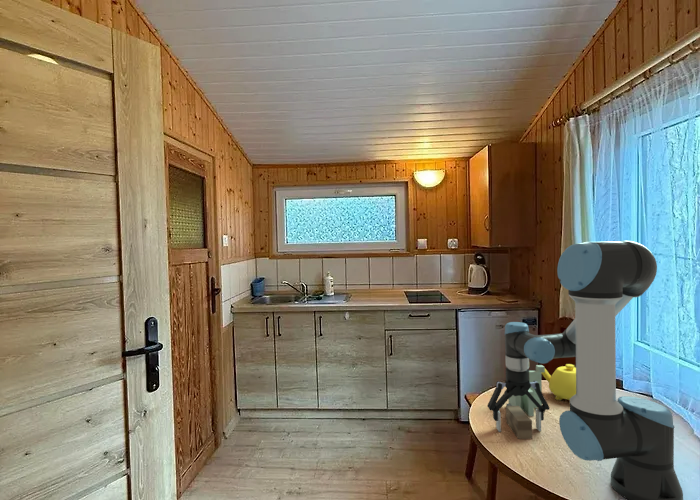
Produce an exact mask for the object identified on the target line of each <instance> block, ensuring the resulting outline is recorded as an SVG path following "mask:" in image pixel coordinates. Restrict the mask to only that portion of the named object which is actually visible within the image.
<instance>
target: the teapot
mask: <svg viewBox="0 0 700 500" xmlns="http://www.w3.org/2000/svg"><path fill="white" fill-rule="evenodd" d="M541 376H542V377H544V379H545V380H546V381H547V382H548V388H549V390H550V391H551V394H553V395H554V396H555V397H554V399H555V400H556V401H563V400H567V401H570V398H571V397H572V396H574V395H575V394H576V366H575V364H572V363H566V364H565V366H563V365H562V366H559V367H557V368H556V369H555V370H554V372H553V373H551V374H550V373H549V371H548V370H547V369H546V368H545V372H541Z"/></svg>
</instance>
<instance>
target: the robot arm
mask: <svg viewBox="0 0 700 500" xmlns="http://www.w3.org/2000/svg"><path fill="white" fill-rule="evenodd" d="M657 270H658V264H657V260H656V258H655V255H654V254H653V253H652V251H651V250H650V249H649V248H647V247H646V246H645V245H643V244H641V243H639V242H636V241H632V240H619V241H618V240H617V241H616V240H615V241H585V242H579V243H574V244H571V245H569V246H568V247H566V248H565V250H563V252H562V253H561V255H560V257H559V260H558V263H557V278H558V279H559V283H560V284H561V286H562V288H564V289H566V290H568V296H569V298H571V299H572V300H573V301H574V305H575V306H574V307H575V311H574V312H575V316H574V317H575V318H574V319H573V320H572V321H571V323H570V324H569V325H568V326H567V327H566V329H565V330H564V331H563V332H562V333H552V334H551V333H550V334H532V333H530V330H529V329H530V328H529V325H528V324H527V323H525V322H521V321H520V322H519V321H510V322H507V323H505V326H504V350H505V355H504V356H505V367H506V368H505V382H501V381H499V380H497V381H496V383H495V388H494V391H493V393H492V395H491V397H490V399H489V402H488V403H487V408H488V409H489V411H492V412H493V413H492V415H493V416H492V417H493V420H494V421H495V425H496V427H495V428H496V430H497V431H498V432H502V425H501V424H502V421H501V420H502V419H501V418H502V417H501V415H502V414H501V411H500V410H501V408H503V406H504V405H506V403H507V401H509V398H510V397H511V396H512V395H514V396H524V395H525V394H526V395H527V396H528V397H529V398H530V400H531V401H532V402H533V403H534V404H535V405H536V406H537V407H538V408H535V428H536V430H537V431H538V432H542V421H544V419H545V415H544V414H545V413H546V411H549V410H550V405H549V404H548V401H547V400H546V398H545V396H544V394H543V392H541V390H540V385H539V383H538V382H537V381H533V382H529V371H530V369H529V368H530V361H532V362H534V363H538V364H548V363H549V362H551V361H552V360H553V359H560V358H561V359H563V358H575V367H576V394H575V395H574V396H572V397H571V398H570V400H569V410H565V411H563V412H562V413H561V414H560V415H559V421H558V422H559V423H558V424H559V431H560V432H561V436H562V438H563V440H564V442H565V443H566V445H567V446H568V448H569V449H570V451H571V452H572V453H573V454H574V455H575V456H576V457H577V458H579V459H581V460H583V461H586V462H587V461H588V462H590V461H597V462H601V461H604V460H610V459H611V460H612V459H615V462H614V464H613V467H612V469H611V472H610V484H611V487H612V489H613V490H614V491H615V492H616V493H618V494H619V495H620V496H621V497H623V498H624V499H626V500H684V492H683V488H682V486H681V483H680V481H679V478H678V475H677V473H676V471H675V468H674V467H675V461H674V458H675V457H674V455H675V453H674V452H675V448H674V447H675V434H674V433H675V429H674V428H675V425H674V417H673V413H672V412H671V410H669V409H668V408H667V407H666V406H664V405H662V404H660V403H657V402H654V401H652V400H649V399H645V398H642V397H641V398H640V397H636V396H629V395H628V396H623V395H622V396H619V397H618V398H617V392H616V391H617V388H616V387H617V384H616V383H617V380H616V378H617V374H616V372H617V368H616V367H617V365H616V364H617V363H616V358H617V357H616V353H617V352H616V347H617V346H616V317H617V315H618V314H619V313H621V311H622V310H623V309H624V308H625V307H626V306H627V305H628V303H629V304H630V302H631V300H632V299H633V298H639V297H641V296H643V295H644V293H646V291H647V290H648V289H649V288H650V287H651V285H652V284H653V282H654V280H655V279H656V276H657ZM531 386H532V388H534V389H535V391H536V393H537V395H538V397H539V399H540V401H541V403H542V405H540V404H539V403H538V402H537V401H536V400H535V398H534V397H533V396H532V395H531V394H530V393H529V392H528V390H529V389H530V387H531ZM504 388H506V389H505V390H504V393H503V394H502V395H501V392H502V390H503V389H504ZM500 395H501V397H500Z"/></svg>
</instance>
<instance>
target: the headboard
mask: <svg viewBox="0 0 700 500" xmlns="http://www.w3.org/2000/svg"><path fill="white" fill-rule="evenodd" d="M545 369H546V368H545V366H544V365H542V364H536V365H535V370H529V382H533V381H537V382H538V383H539V385H540V390H541V392H542V391H543V390H542V386H543V385H542V383H543V382H542V374H541V372H545ZM528 392H529V393H530V394H531V395H532V396H533V397H534V398H535V400H536V401H537V402H538V403H539V404H540V405H542V403H541V401H540V399H539V397H538V395H537V393H536V391H535V389H534V388H532V386H531V387H530V389H529V390H528ZM542 393H543V392H542ZM508 403H510V404H511V405H512V406H520V408H521V409H522V410H523V411H524V412H525V413H526V415H527V416H528V417H534V416H535V412H534V411H535V410H534V409H538V407H537V406H536V405H535V404H534V403H533V402H532V401H531V400H530V398H529V397H528V396H527V395H526V394H525V395H524V396H514V395H512V396H511V397H510V398H509V399H508Z"/></svg>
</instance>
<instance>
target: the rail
mask: <svg viewBox="0 0 700 500" xmlns="http://www.w3.org/2000/svg"><path fill="white" fill-rule="evenodd" d="M505 405H506V406H505V418H506V419H505V421H506V424H507V425H508V427H509V428H510V429H511V431H512V432H513V434H514V435H515V437H516V438H517V439H518V440H533V421H532V419H531V418H530V416H528V415H527V414H526V412H525V411H524V410H522V409H521V408H520V406H512V405H511V404H510V403H509V402H508V403H505Z"/></svg>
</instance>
